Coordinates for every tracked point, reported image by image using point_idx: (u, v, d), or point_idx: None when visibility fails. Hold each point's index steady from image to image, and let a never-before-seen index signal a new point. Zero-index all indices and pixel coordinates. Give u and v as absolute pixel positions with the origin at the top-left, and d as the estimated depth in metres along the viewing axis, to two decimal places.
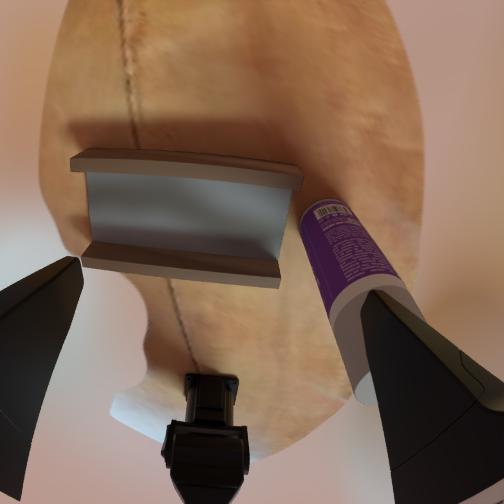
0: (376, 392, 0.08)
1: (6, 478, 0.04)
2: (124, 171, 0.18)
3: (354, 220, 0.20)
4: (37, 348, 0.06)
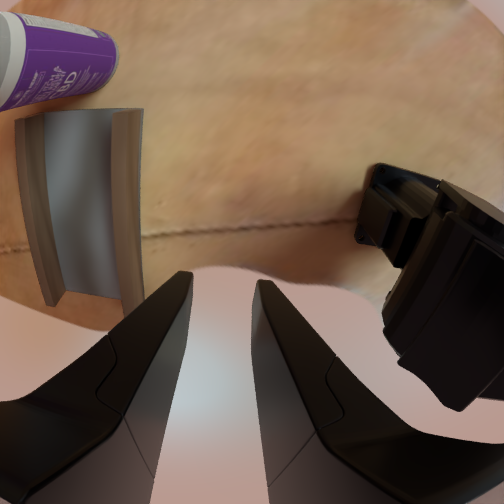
0: (256, 396, 0.07)
1: None
2: (41, 266, 0.20)
3: None
4: None
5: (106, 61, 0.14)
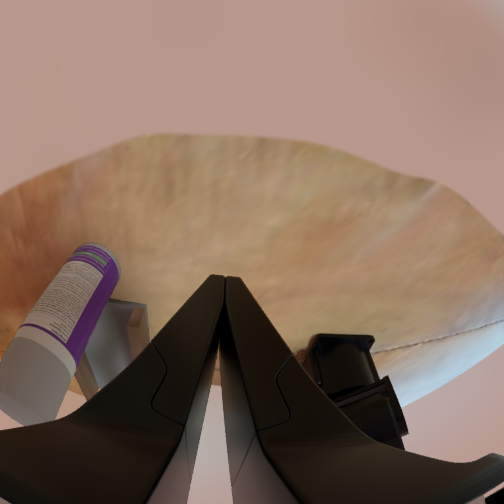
0: None
1: None
2: (84, 384, 0.28)
3: None
4: None
5: (113, 285, 0.22)
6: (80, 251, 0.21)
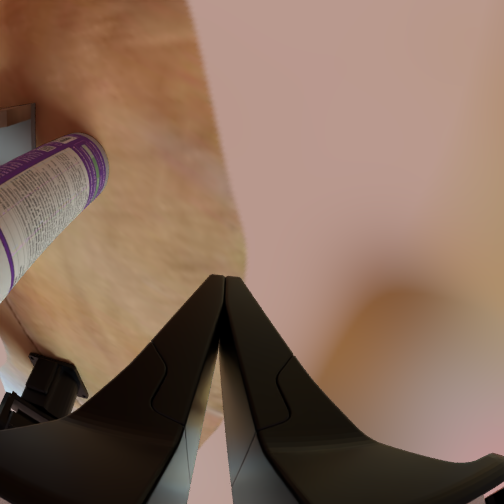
0: (222, 394, 0.07)
1: None
2: None
3: (50, 147, 0.12)
4: None
5: None
6: (98, 165, 0.15)
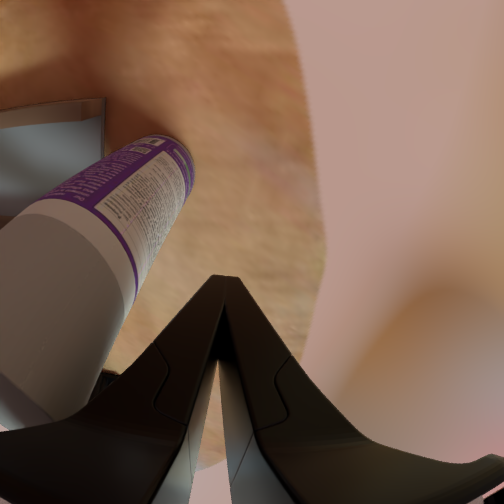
0: None
1: None
2: None
3: (144, 148, 0.12)
4: None
5: None
6: (189, 172, 0.15)
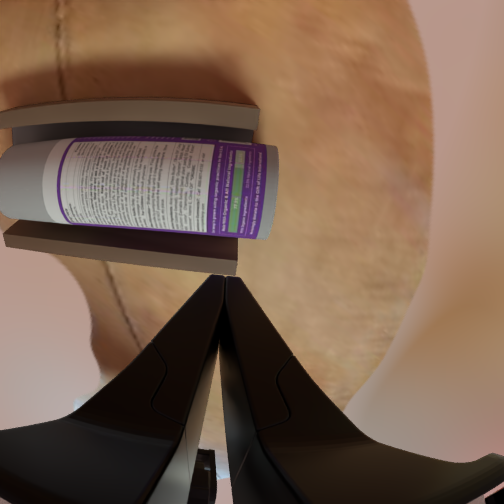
0: (222, 394, 0.07)
1: None
2: (36, 121, 0.12)
3: (196, 138, 0.13)
4: None
5: None
6: (244, 181, 0.12)
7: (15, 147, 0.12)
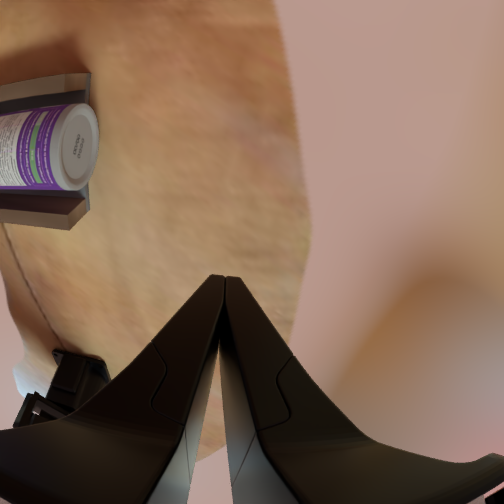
0: (222, 394, 0.07)
1: None
2: None
3: (28, 109, 0.12)
4: None
5: None
6: (37, 135, 0.11)
7: None
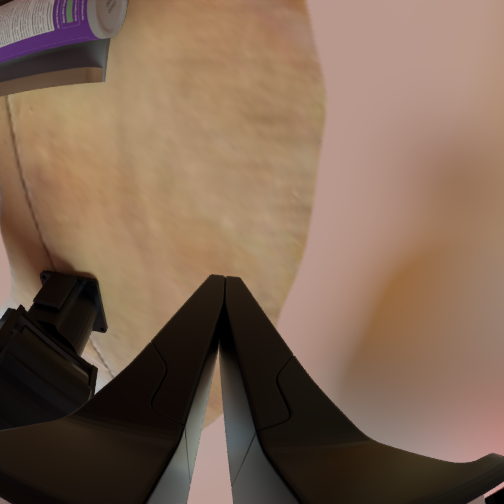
0: (222, 394, 0.07)
1: None
2: None
3: None
4: None
5: (76, 40, 0.12)
6: None
7: None
